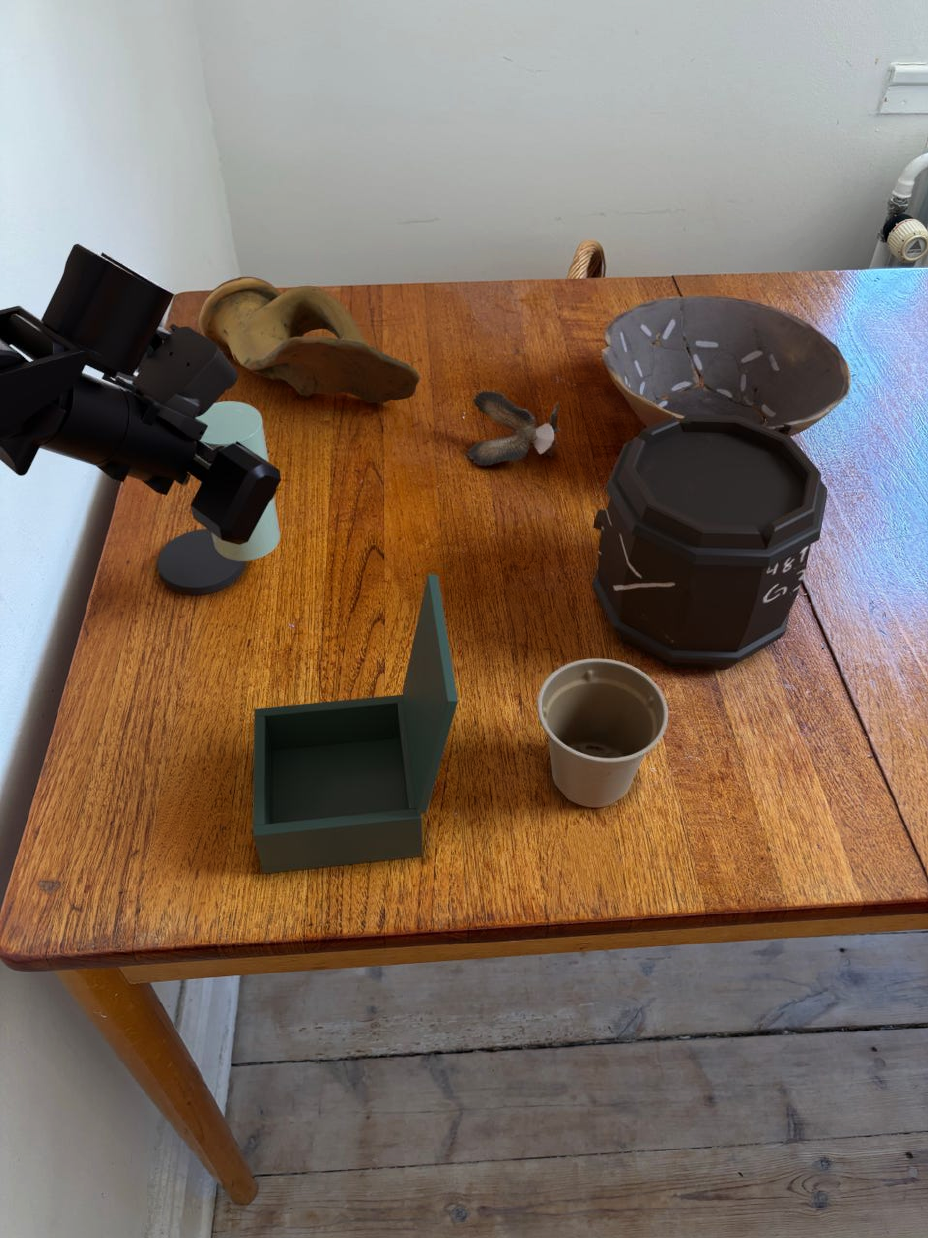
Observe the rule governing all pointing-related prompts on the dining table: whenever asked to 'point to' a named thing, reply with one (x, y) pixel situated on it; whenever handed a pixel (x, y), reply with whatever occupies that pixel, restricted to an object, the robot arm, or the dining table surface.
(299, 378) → the brown looped sculpture
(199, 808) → the dining table surface
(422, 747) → the box lid
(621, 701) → the flower pot
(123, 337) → the robot arm
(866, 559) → the dining table surface
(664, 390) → the bowl
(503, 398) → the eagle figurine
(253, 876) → the dining table surface
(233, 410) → the pale green cylinder
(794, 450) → the black polygonal canister
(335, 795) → the box
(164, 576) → the rubber mat
